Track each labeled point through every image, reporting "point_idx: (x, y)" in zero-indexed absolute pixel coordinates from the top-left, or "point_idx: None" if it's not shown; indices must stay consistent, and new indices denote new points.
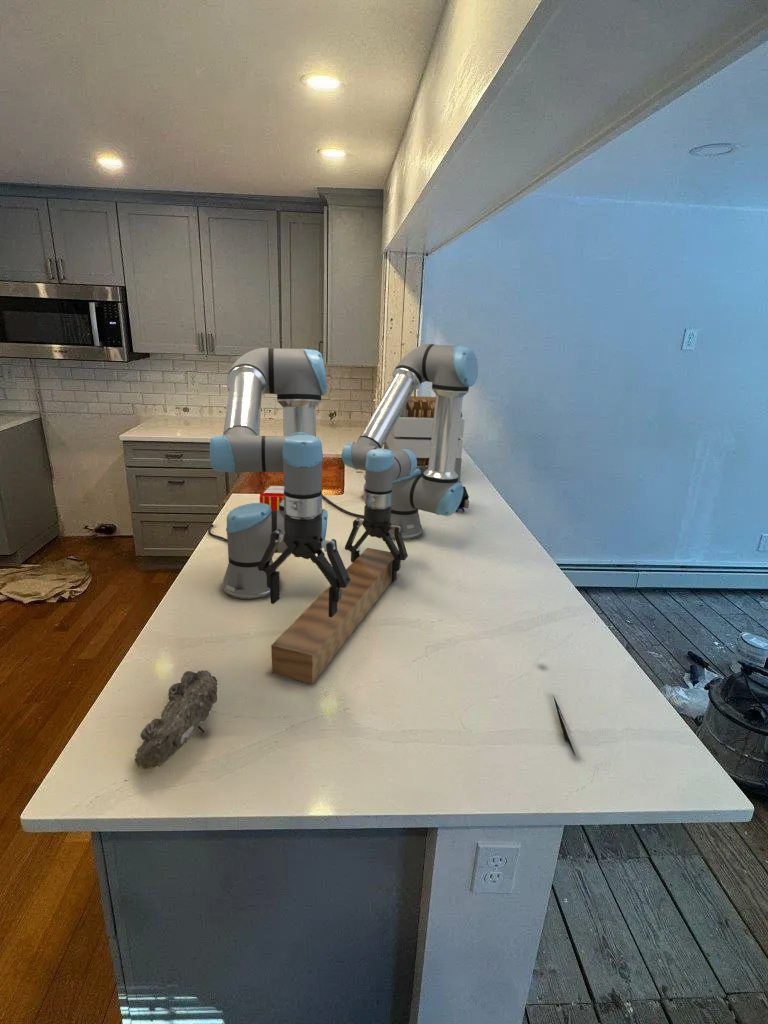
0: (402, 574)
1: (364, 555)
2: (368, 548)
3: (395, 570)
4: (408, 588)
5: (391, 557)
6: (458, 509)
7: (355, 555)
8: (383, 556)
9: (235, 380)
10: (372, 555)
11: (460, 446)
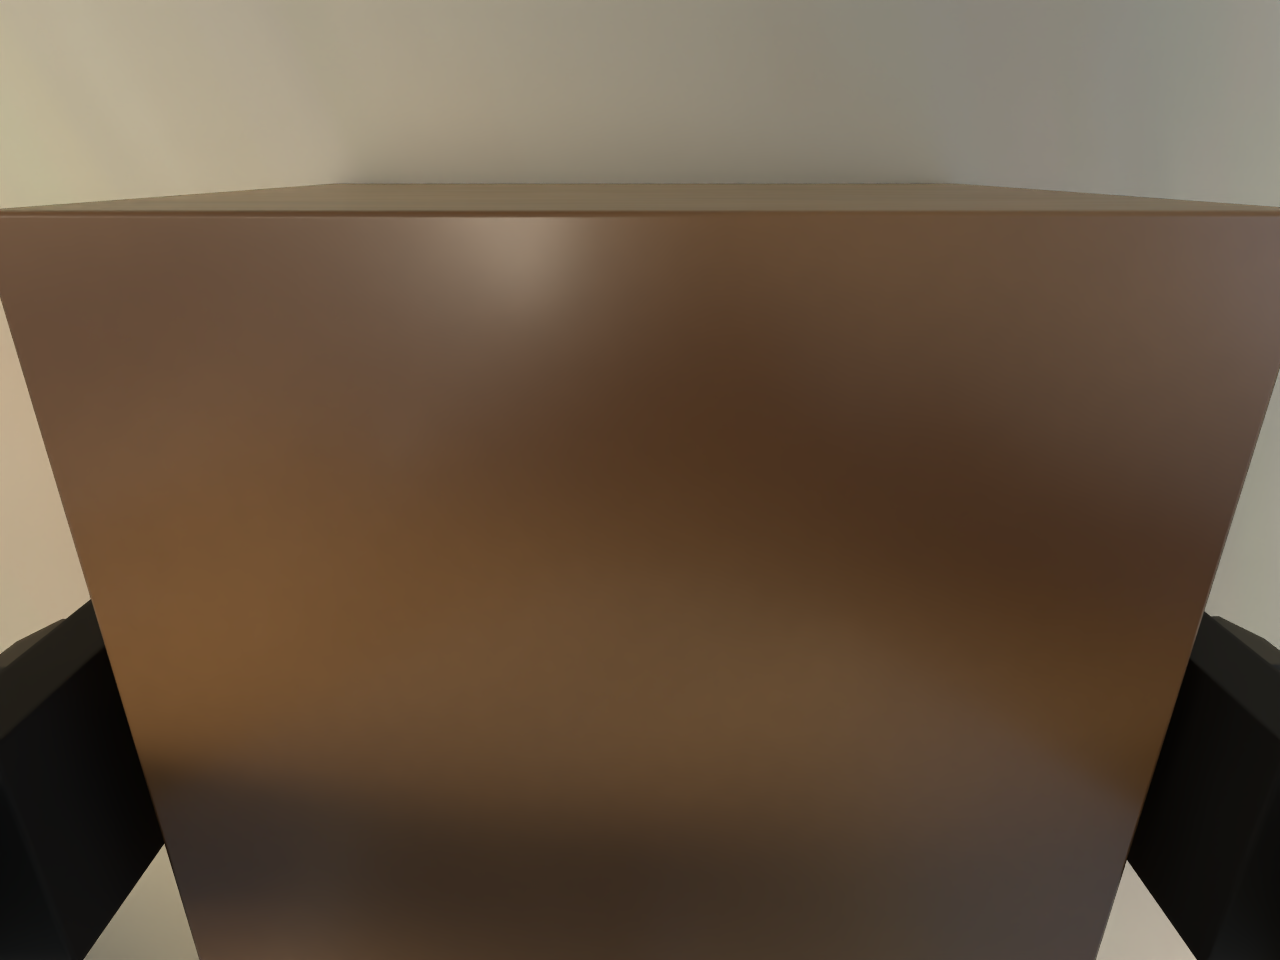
0: (1071, 116)
1: (287, 825)
2: (63, 276)
3: None
4: (1214, 580)
5: (1112, 654)
6: None
7: (81, 928)
8: (844, 686)
9: None
10: (495, 739)
11: None
